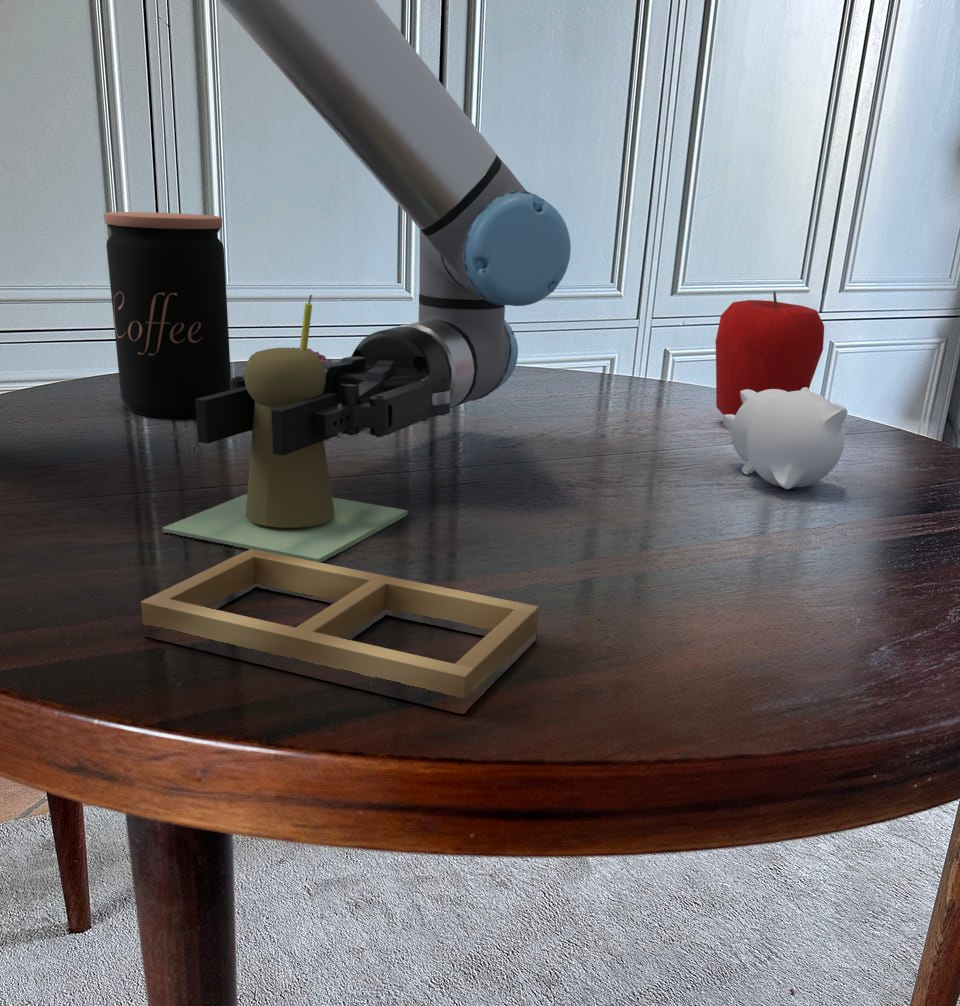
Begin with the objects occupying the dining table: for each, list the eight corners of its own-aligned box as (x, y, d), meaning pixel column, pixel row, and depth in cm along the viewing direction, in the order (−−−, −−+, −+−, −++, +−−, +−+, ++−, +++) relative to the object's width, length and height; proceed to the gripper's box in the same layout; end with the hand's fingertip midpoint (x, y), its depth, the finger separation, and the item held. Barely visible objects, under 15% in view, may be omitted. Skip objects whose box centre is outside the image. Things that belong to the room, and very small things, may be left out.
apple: (702, 431, 104) (721, 291, 98) (706, 412, 113) (724, 283, 108) (810, 442, 102) (835, 299, 96) (805, 421, 111) (828, 290, 105)
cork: (294, 496, 74) (289, 340, 70) (353, 514, 71) (351, 351, 66) (227, 513, 70) (216, 347, 65) (285, 533, 66) (278, 360, 62)
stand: (143, 637, 52) (140, 601, 52) (251, 580, 61) (250, 548, 60) (463, 716, 46) (465, 676, 45) (536, 640, 54) (539, 605, 54)
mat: (162, 533, 68) (161, 527, 67) (266, 490, 78) (266, 485, 78) (319, 564, 63) (318, 558, 63) (407, 515, 74) (407, 510, 73)
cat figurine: (754, 354, 89) (817, 373, 78) (838, 421, 93) (910, 449, 82) (692, 438, 91) (746, 469, 80) (777, 501, 95) (839, 538, 84)
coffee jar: (99, 412, 100) (78, 212, 92) (161, 394, 109) (146, 211, 102) (197, 424, 97) (183, 219, 90) (252, 404, 106) (243, 217, 99)
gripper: (510, 434, 81) (367, 508, 61) (315, 407, 87) (128, 466, 68) (516, 336, 78) (366, 380, 58) (313, 316, 84) (116, 350, 65)
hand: (239, 427), depth 63 cm, fingers closed on cork, 5 cm apart
